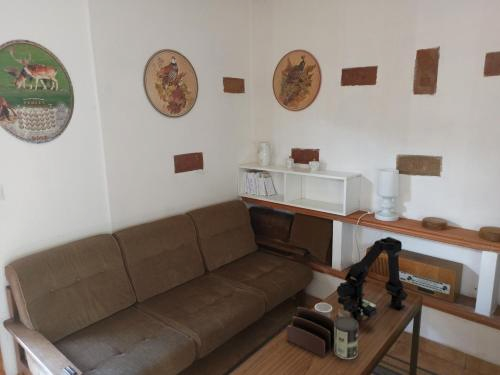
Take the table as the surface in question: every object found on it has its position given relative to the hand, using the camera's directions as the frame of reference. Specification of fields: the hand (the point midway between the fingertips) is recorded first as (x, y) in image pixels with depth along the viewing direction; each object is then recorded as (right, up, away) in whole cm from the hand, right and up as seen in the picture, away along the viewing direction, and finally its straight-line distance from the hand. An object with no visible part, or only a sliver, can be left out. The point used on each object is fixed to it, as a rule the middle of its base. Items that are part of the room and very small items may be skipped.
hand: (355, 320), depth 177 cm
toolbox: (+6, +1, +8) cm, 10 cm away
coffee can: (-11, -6, -20) cm, 24 cm away
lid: (+6, +4, +7) cm, 10 cm away
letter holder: (-25, -5, -14) cm, 29 cm away
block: (-3, 0, +4) cm, 6 cm away
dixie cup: (-16, -2, -1) cm, 17 cm away
